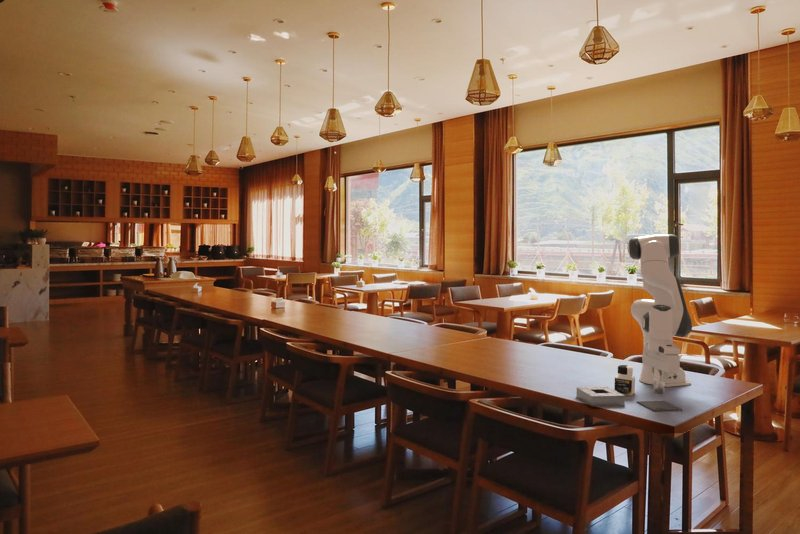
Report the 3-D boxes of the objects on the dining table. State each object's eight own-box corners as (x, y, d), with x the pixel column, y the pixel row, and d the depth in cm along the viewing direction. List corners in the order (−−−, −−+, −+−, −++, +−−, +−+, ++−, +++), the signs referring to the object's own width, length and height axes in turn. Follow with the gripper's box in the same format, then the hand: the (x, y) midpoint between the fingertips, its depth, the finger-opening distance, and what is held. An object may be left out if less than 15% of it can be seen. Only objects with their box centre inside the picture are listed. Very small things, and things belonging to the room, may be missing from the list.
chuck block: (607, 395, 238) (607, 386, 238) (624, 405, 224) (624, 395, 224) (576, 396, 236) (576, 387, 236) (591, 406, 223) (592, 396, 222)
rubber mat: (664, 401, 230) (664, 400, 230) (682, 410, 218) (682, 409, 218) (636, 402, 228) (636, 401, 228) (653, 411, 216) (653, 409, 216)
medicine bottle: (614, 393, 242) (614, 366, 242) (617, 389, 248) (618, 363, 248) (631, 396, 238) (632, 368, 238) (634, 392, 244) (635, 365, 244)
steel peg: (651, 391, 224) (652, 367, 224) (660, 391, 225) (661, 366, 224) (656, 394, 220) (657, 369, 220) (666, 394, 221) (667, 369, 220)
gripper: (638, 341, 232) (637, 374, 232) (668, 350, 212) (666, 386, 212) (652, 341, 233) (651, 374, 233) (683, 350, 212) (682, 386, 213)
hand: (659, 380), depth 222 cm, fingers closed on steel peg, 4 cm apart
